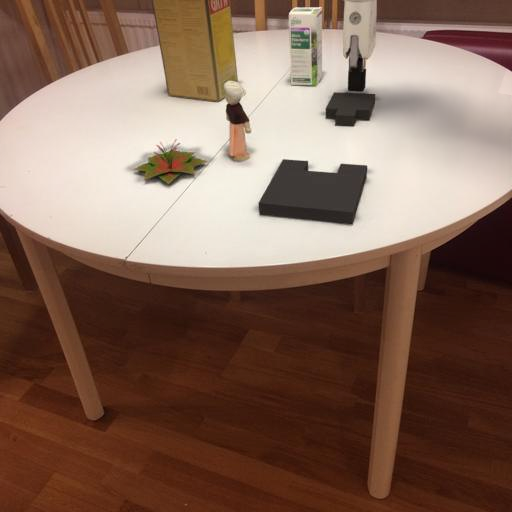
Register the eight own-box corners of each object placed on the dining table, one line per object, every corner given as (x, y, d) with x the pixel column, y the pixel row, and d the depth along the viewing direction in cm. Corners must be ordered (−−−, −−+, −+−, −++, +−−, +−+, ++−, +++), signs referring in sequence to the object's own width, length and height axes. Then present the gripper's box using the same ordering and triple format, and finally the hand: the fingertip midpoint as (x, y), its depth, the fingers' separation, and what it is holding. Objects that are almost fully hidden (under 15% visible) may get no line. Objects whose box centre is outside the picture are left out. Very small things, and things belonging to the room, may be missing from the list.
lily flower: (119, 174, 86) (113, 149, 83) (173, 146, 93) (169, 122, 90) (168, 195, 80) (162, 168, 77) (222, 163, 86) (219, 137, 84)
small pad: (374, 103, 101) (375, 93, 100) (366, 127, 93) (367, 116, 92) (333, 102, 103) (333, 92, 102) (322, 124, 95) (322, 114, 94)
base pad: (366, 177, 79) (367, 165, 78) (352, 224, 69) (353, 212, 68) (283, 170, 83) (283, 159, 82) (259, 215, 73) (258, 202, 72)
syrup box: (290, 85, 112) (287, 13, 104) (297, 76, 117) (295, 5, 108) (316, 86, 111) (315, 12, 102) (322, 76, 115) (322, 5, 106)
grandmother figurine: (217, 153, 89) (207, 79, 82) (235, 145, 91) (226, 73, 83) (245, 168, 84) (237, 90, 77) (263, 159, 86) (257, 83, 79)
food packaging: (241, 86, 114) (228, -44, 99) (219, 102, 108) (201, -35, 93) (190, 81, 120) (170, -43, 104) (166, 96, 113) (141, -34, 98)
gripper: (376, -3, 86) (370, 105, 97) (387, -22, 97) (380, 77, 108) (330, -2, 88) (330, 103, 99) (346, -21, 99) (344, 76, 110)
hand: (356, 89), depth 103 cm, fingers closed
